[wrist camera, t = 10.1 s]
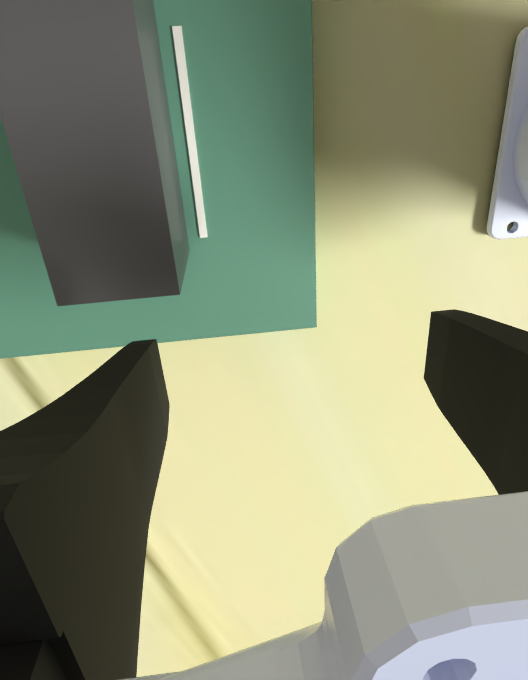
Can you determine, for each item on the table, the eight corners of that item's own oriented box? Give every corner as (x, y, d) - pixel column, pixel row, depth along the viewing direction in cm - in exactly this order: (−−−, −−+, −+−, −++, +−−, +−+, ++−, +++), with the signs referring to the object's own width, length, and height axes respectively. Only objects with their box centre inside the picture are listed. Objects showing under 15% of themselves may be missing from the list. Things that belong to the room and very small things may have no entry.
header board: (300, -145, 14) (331, -244, 10) (310, 313, 22) (331, 359, 18) (-156, -123, 14) (-310, -220, 10) (13, 343, 21) (-36, 397, 17)
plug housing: (130, -154, 13) (84, -294, 8) (189, 250, 18) (180, 294, 14) (-2, -147, 13) (-121, -287, 8) (97, 258, 18) (57, 306, 14)
